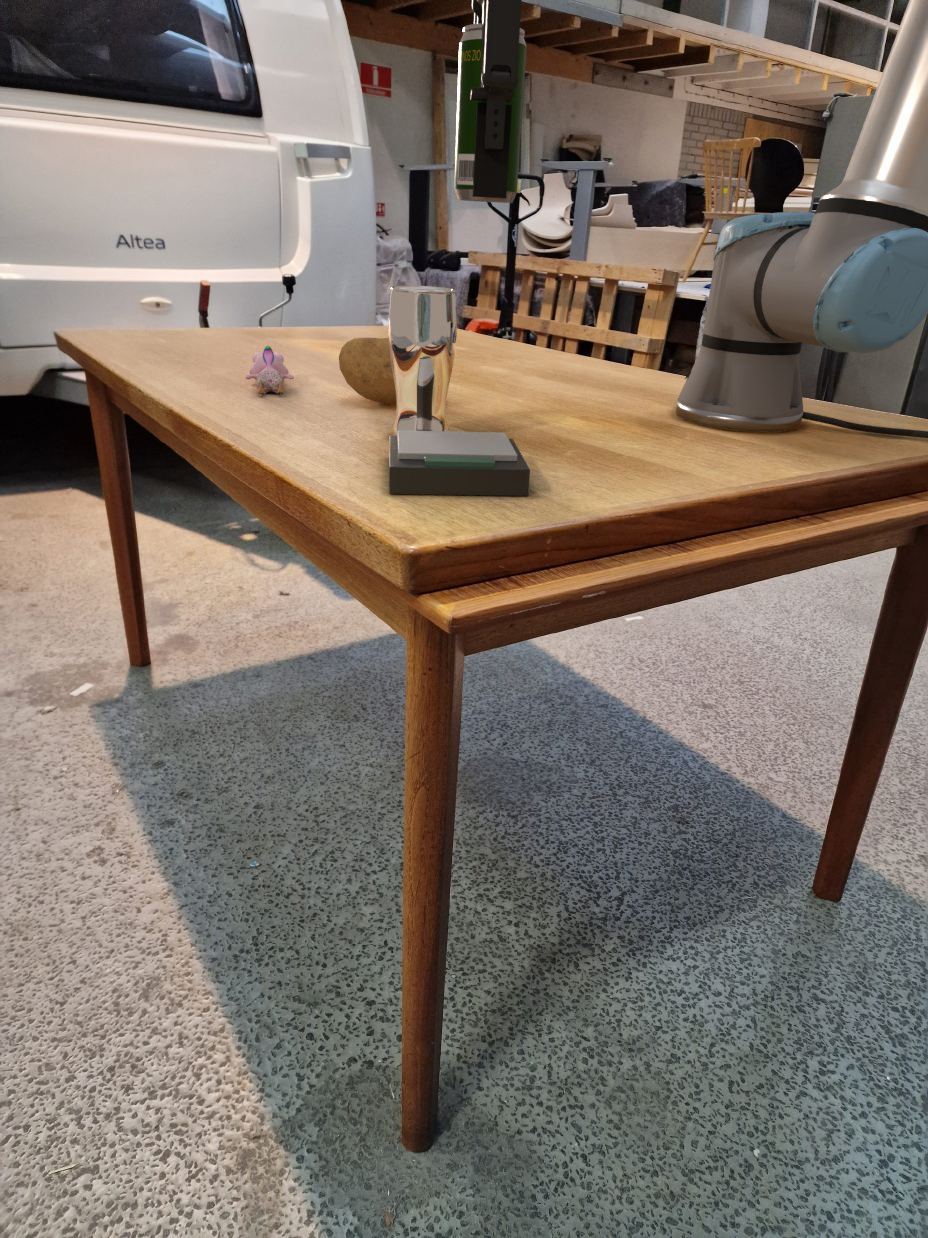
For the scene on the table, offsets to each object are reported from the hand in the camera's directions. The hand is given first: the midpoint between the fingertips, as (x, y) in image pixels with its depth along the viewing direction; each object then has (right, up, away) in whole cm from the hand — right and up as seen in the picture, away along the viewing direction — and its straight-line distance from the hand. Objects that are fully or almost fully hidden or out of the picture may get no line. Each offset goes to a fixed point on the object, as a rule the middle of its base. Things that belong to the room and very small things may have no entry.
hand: (485, 197), depth 70 cm
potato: (-11, -9, +35) cm, 37 cm away
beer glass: (-7, -17, +19) cm, 26 cm away
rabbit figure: (-28, -5, +41) cm, 50 cm away
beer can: (0, 0, 0) cm, 1 cm away
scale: (-3, -23, +6) cm, 24 cm away
